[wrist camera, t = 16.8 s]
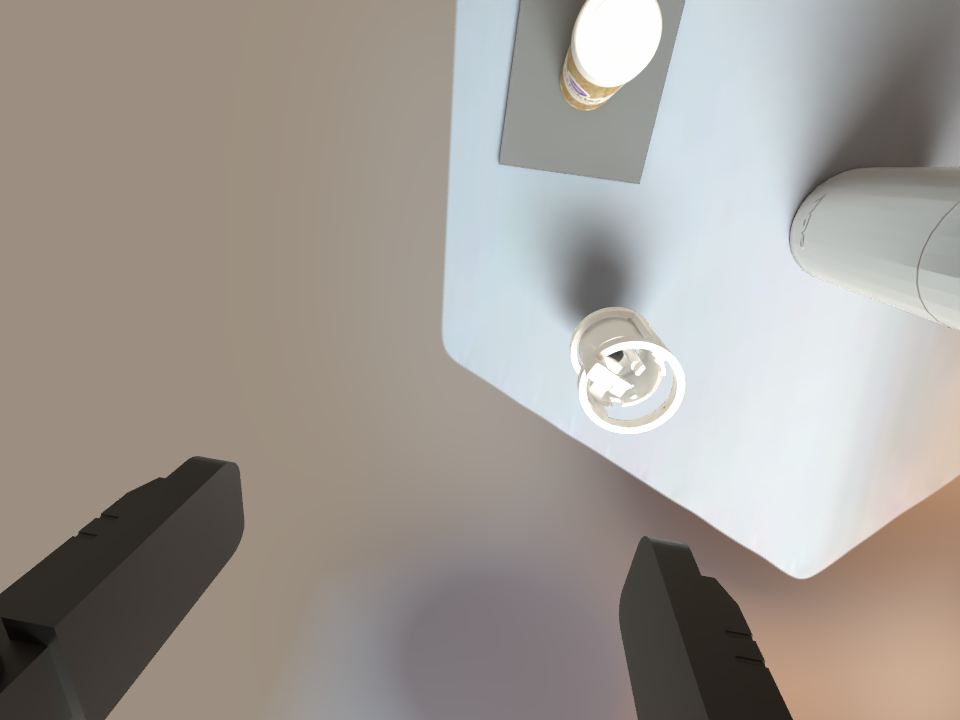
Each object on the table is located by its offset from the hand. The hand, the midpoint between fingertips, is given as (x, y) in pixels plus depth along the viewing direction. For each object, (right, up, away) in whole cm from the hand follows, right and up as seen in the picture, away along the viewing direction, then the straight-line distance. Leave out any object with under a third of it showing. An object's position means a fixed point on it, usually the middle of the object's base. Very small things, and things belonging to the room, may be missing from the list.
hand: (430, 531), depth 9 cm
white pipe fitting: (+13, +7, +35) cm, 38 cm away
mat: (+10, +26, +28) cm, 39 cm away
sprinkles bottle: (+10, +26, +27) cm, 39 cm away
